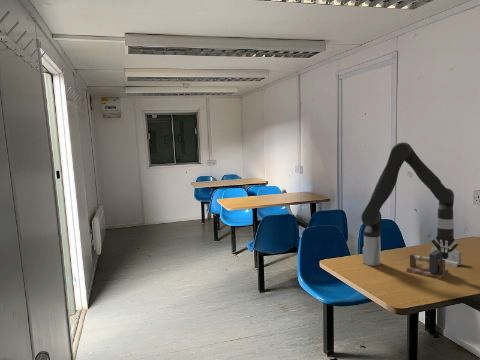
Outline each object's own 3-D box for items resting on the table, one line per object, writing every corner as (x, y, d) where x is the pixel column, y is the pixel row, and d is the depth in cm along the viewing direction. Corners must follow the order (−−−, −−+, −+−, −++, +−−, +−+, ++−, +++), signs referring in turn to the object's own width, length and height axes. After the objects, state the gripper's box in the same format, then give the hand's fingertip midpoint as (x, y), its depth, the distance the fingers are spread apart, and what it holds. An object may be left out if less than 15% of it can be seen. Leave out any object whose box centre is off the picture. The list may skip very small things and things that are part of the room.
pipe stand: (406, 271, 190) (406, 256, 189) (415, 265, 198) (415, 251, 197) (440, 279, 177) (440, 263, 177) (448, 272, 185) (448, 257, 184)
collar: (429, 272, 182) (429, 254, 181) (436, 267, 189) (436, 249, 188) (435, 273, 180) (435, 255, 179) (442, 268, 186) (442, 250, 185)
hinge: (427, 260, 206) (429, 243, 207) (430, 260, 208) (433, 244, 209) (457, 267, 192) (460, 249, 193) (460, 268, 195) (463, 250, 195)
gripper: (428, 226, 181) (428, 258, 183) (457, 230, 171) (456, 263, 173) (434, 223, 186) (434, 254, 188) (462, 227, 176) (461, 259, 178)
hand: (445, 258), depth 180 cm, fingers closed
